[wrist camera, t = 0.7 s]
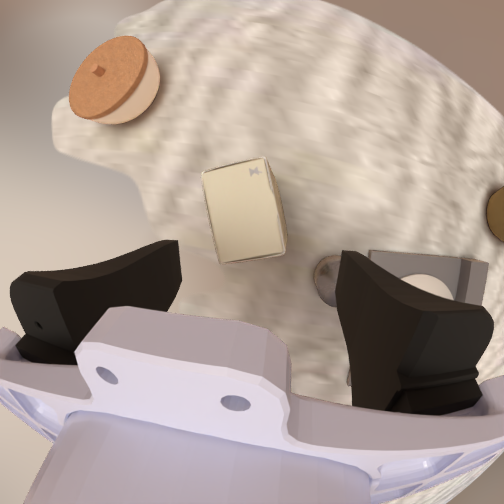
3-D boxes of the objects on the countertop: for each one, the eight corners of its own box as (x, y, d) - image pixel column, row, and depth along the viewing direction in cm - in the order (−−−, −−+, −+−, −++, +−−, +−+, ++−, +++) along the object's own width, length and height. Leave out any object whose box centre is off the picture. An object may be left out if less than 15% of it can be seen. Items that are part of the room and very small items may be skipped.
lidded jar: (113, 149, 30) (63, 133, 21) (99, 91, 30) (57, 69, 20) (184, 105, 28) (146, 70, 19) (161, 50, 28) (128, 14, 18)
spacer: (351, 297, 28) (360, 308, 24) (312, 294, 29) (314, 306, 25) (356, 256, 27) (366, 262, 24) (316, 253, 28) (319, 259, 24)
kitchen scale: (448, 375, 27) (458, 386, 24) (346, 381, 29) (350, 396, 26) (476, 259, 25) (491, 263, 22) (369, 250, 27) (377, 253, 24)
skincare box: (236, 187, 28) (197, 166, 16) (276, 178, 28) (265, 149, 16) (248, 247, 29) (216, 267, 17) (289, 239, 28) (286, 255, 16)
